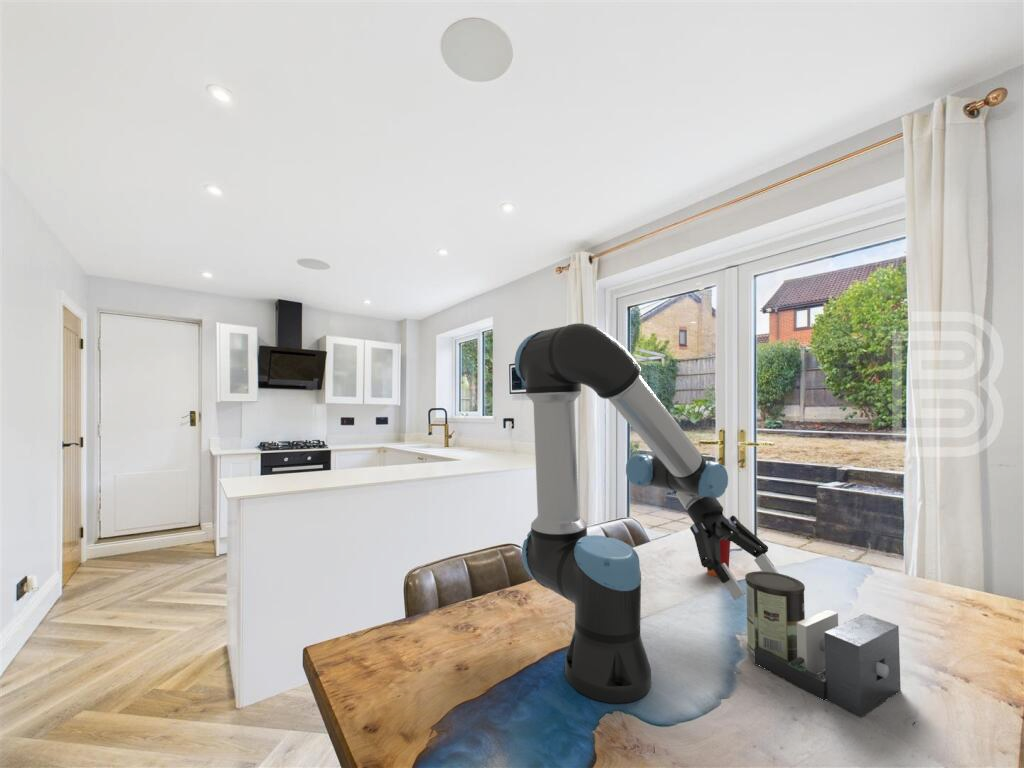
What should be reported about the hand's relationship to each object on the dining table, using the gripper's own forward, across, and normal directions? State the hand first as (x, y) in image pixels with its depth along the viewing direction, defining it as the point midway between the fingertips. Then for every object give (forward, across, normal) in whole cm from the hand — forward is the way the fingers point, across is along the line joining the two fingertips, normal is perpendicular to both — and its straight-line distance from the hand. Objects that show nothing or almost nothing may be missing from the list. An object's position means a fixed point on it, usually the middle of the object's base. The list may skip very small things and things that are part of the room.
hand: (760, 590), depth 93 cm
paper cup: (-13, -26, -28) cm, 40 cm away
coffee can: (+10, +1, -5) cm, 11 cm away
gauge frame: (+17, +1, +2) cm, 17 cm away
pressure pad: (+18, +3, +5) cm, 19 cm away
